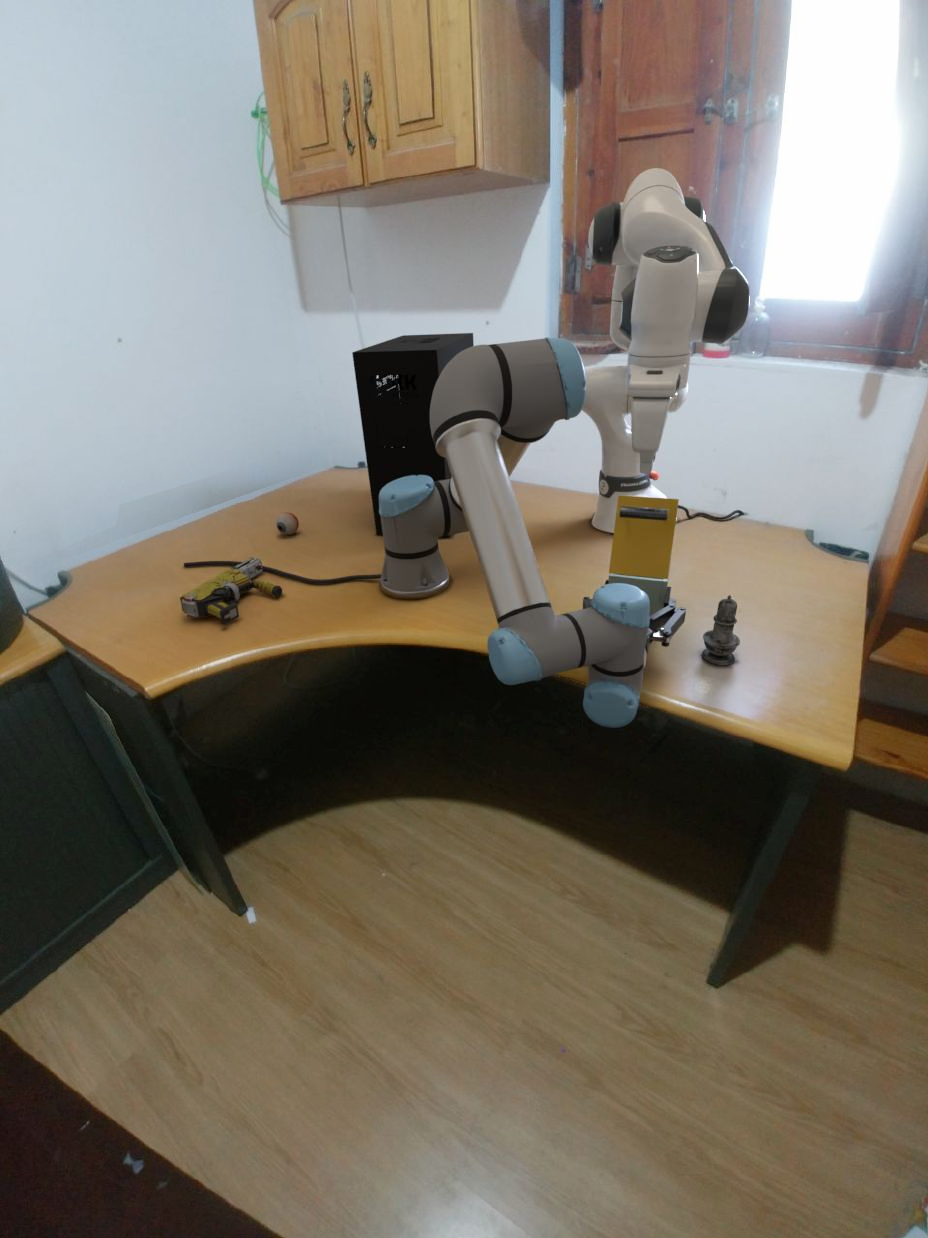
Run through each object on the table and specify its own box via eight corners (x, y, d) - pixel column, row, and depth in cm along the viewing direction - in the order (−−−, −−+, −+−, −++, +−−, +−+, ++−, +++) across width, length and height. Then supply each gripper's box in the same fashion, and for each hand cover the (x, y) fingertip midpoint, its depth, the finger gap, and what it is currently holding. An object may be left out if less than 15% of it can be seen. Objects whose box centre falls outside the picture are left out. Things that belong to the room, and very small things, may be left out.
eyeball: (273, 537, 164) (268, 516, 161) (287, 528, 169) (282, 508, 166) (291, 539, 161) (286, 518, 158) (305, 530, 166) (301, 510, 163)
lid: (618, 495, 109) (614, 491, 100) (678, 499, 106) (678, 494, 97) (609, 572, 111) (603, 574, 102) (667, 578, 108) (667, 581, 99)
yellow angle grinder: (303, 565, 139) (248, 554, 143) (236, 611, 119) (174, 596, 122) (305, 584, 141) (250, 572, 145) (239, 632, 121) (178, 617, 125)
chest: (614, 592, 127) (618, 546, 122) (665, 597, 123) (672, 551, 118) (605, 623, 116) (608, 575, 111) (660, 631, 113) (667, 581, 107)
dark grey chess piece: (739, 667, 101) (752, 604, 95) (702, 664, 102) (713, 602, 96) (733, 648, 106) (745, 587, 100) (697, 646, 107) (708, 585, 101)
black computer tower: (449, 537, 157) (436, 349, 134) (376, 534, 161) (352, 352, 139) (479, 491, 188) (473, 332, 166) (417, 489, 193) (403, 335, 170)
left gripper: (550, 661, 101) (575, 600, 119) (695, 683, 93) (699, 614, 111) (551, 622, 97) (577, 565, 115) (702, 642, 90) (705, 578, 108)
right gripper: (642, 363, 99) (634, 448, 106) (627, 386, 82) (619, 484, 89) (682, 363, 97) (672, 450, 104) (675, 386, 80) (663, 487, 87)
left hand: (637, 589), depth 113 cm, fingers closed on chest, 10 cm apart
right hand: (647, 466), depth 96 cm, fingers open, 5 cm apart
